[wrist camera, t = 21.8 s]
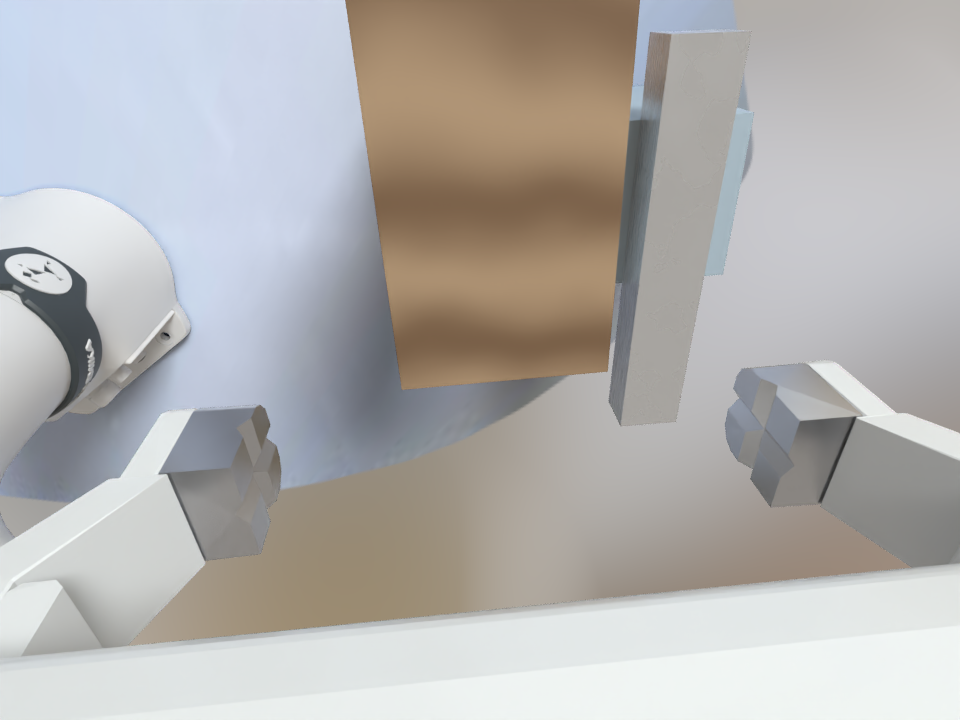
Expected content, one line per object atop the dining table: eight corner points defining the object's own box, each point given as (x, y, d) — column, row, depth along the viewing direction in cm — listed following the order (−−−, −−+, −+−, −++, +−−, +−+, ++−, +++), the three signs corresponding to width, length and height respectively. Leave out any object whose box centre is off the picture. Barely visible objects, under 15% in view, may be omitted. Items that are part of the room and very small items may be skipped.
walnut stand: (524, 222, 50) (606, 388, 28) (411, 231, 50) (404, 406, 28) (523, -22, 41) (645, -62, 19) (383, -15, 40) (338, -48, 18)
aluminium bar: (660, 397, 43) (675, 421, 40) (608, 401, 42) (620, 426, 40) (723, 29, 30) (751, 31, 28) (650, 32, 30) (671, 34, 27)
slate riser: (646, 208, 50) (722, 274, 38) (535, 216, 50) (574, 286, 37) (660, 84, 45) (754, 112, 32) (536, 92, 45) (582, 123, 32)
